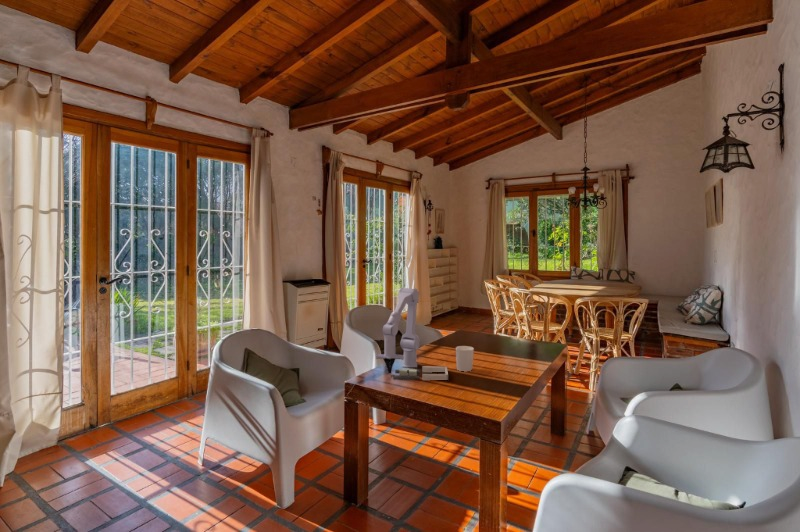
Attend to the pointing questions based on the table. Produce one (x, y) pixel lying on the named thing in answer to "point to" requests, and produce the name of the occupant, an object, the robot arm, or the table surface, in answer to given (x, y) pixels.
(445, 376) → the white u-shaped bracket
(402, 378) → the channel
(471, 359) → the candle holder
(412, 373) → the chip
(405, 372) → the white small block
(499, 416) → the table surface
